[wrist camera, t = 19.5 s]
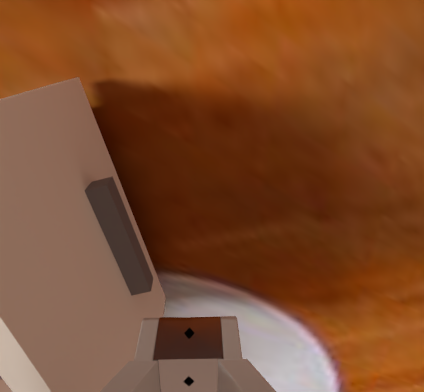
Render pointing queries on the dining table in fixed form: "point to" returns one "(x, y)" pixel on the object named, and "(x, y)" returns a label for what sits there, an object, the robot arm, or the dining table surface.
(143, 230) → the dining table surface
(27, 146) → the drawer
